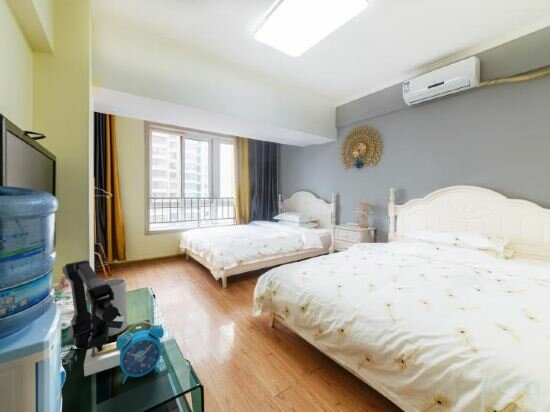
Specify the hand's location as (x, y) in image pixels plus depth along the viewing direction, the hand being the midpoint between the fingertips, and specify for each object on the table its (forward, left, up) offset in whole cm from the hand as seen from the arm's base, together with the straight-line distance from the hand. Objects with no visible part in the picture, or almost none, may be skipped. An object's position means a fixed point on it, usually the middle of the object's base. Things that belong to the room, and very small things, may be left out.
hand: (100, 350), depth 101 cm
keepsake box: (+2, +2, -6) cm, 7 cm away
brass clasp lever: (+3, +2, -1) cm, 3 cm away
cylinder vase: (-14, +23, -6) cm, 28 cm away
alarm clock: (+20, -2, -6) cm, 21 cm away
